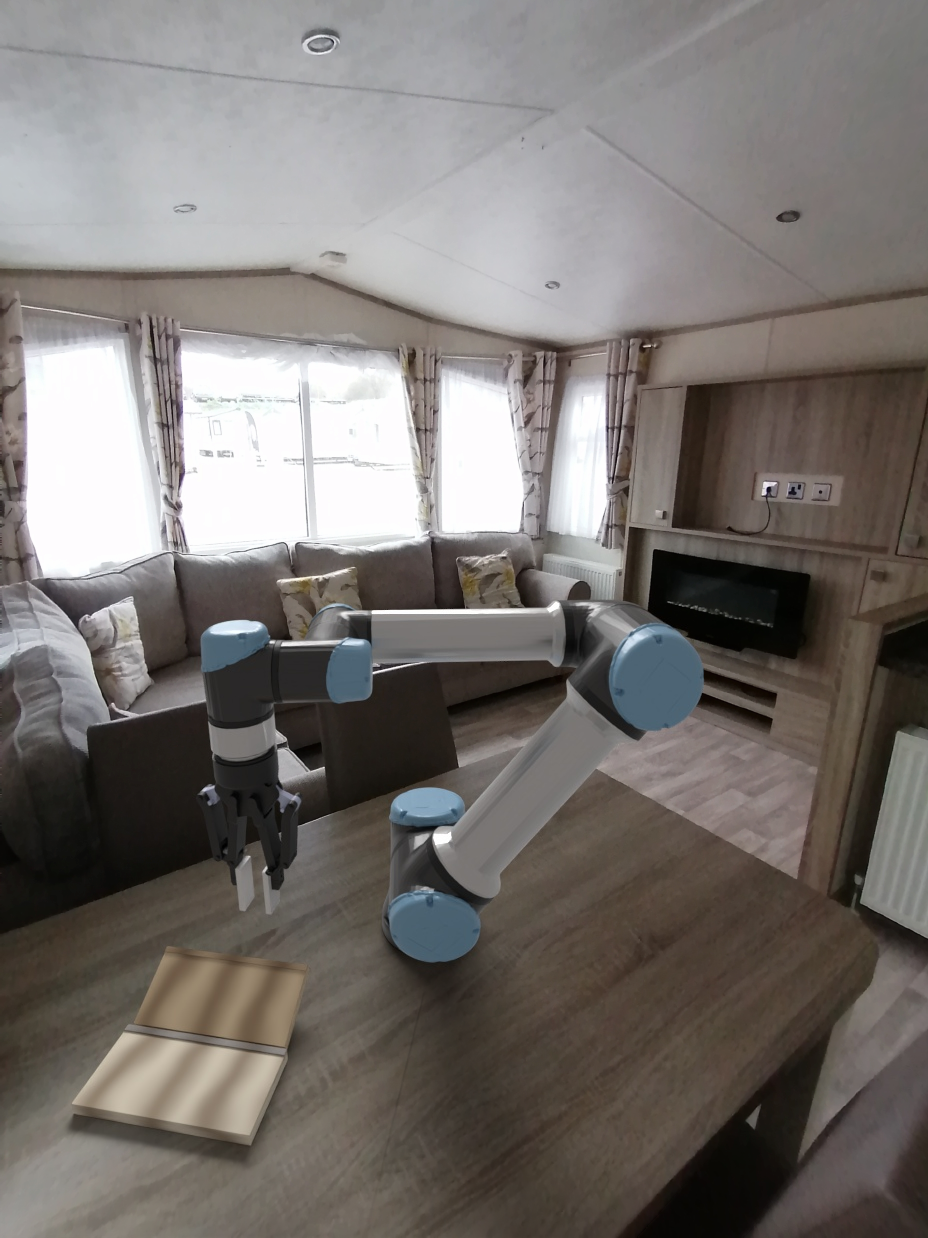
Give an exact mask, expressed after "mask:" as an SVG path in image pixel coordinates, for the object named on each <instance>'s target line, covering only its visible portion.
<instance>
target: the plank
mask: <svg viewBox="0 0 928 1238" xmlns="http://www.w3.org/2000/svg"><path fill="white" fill-rule="evenodd" d="M165 947H166V948H165V950H164V954H163V956H162V958H161V960H160V963H159V965H158V967H157V969H156V971H155V973H154V976H153V979H152V981H151V983H150V985H149V987H148V989H147V992H146V994H145V996H144V999H143V1001H142V1003H141V1006H140V1007H139V1010H138V1012H137V1014H136V1016H135V1019H134V1021H133V1025H137V1026H144V1027H150V1028H157V1029H163V1030H169V1031H176V1032H182V1033H189V1034H195V1035H201V1036H208V1037H214V1038H221V1039H227V1040H233V1041H240V1042H246V1043H252V1044H259V1045H265V1046H272V1047H278V1048H284V1049H287V1050H288V1049H289V1045H290V1042H291V1038H292V1035H293V1031H294V1028H295V1024H296V1020H297V1017H298V1013H299V1011H300V1010H299V1009H300V1006H301V1002H302V998H303V995H304V992H305V988H306V984H307V982H308V978H309V974H310V971H311V967H310V966H309V965H308V964H301V963H294V962H289V961H287V962H286V961H281V960H274V959H273V960H272V959H264V958H257V957H249V956H243V955H235V954H227V953H222V952H221V953H220V952H215V951H214V952H213V951H205V950H200V949H191V948H184V947H177V946H169V945H166V946H165Z"/></svg>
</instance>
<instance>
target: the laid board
mask: <svg viewBox="0 0 928 1238" xmlns="http://www.w3.org/2000/svg"><path fill="white" fill-rule="evenodd" d="M288 1060H289V1057H288V1049H284V1048H278V1047H272V1046H265V1045H259V1044H252V1043H246V1042H240V1041H233V1040H227V1039H221V1038H214V1037H208V1036H201V1035H195V1034H189V1033H182V1032H176V1031H169V1030H163V1029H157V1028H150V1027H144V1026H137V1025H136V1024H130V1023H128V1024H127V1025H126V1027H125V1028H124V1030H123V1032H122V1034H121V1035H120V1037H119V1038H118V1039H117V1040H116V1042H115V1043H114V1045H113V1046H112V1047H111V1049H110V1050H109V1051H108V1053H107V1055H106V1056H105V1057H104V1059H102V1061H101V1062H100V1064H99V1065H98V1067H97V1068H96V1070H95V1071H94V1072H93V1073H92V1074H91V1076H90V1078H89V1079H88V1080H87V1082H86V1083H85V1084H84V1086H83V1087H82V1088H81V1090H80V1091H79V1092H78V1094H77V1095H76V1097H75V1098H74V1099H73V1101H72V1102H71V1108H72V1112H73V1113H72V1114H74V1115H78V1116H84V1117H90V1118H95V1119H101V1120H106V1121H112V1122H117V1123H122V1124H129V1125H134V1126H139V1127H145V1128H151V1129H156V1130H160V1131H161V1130H162V1131H167V1132H172V1133H178V1134H183V1135H190V1136H195V1137H202V1138H205V1139H211V1140H217V1141H222V1142H227V1143H228V1142H229V1143H234V1144H239V1145H245V1146H252V1144H253V1141H254V1140H255V1137H256V1134H257V1132H258V1129H259V1127H260V1126H261V1122H262V1120H263V1117H265V1114H266V1111H267V1109H268V1107H269V1104H270V1102H271V1100H272V1098H273V1096H274V1092H275V1091H276V1088H277V1086H278V1084H279V1082H280V1079H281V1076H282V1074H283V1072H284V1069H285V1067H286V1065H287V1064H288Z"/></svg>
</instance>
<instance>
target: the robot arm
mask: <svg viewBox="0 0 928 1238" xmlns="http://www.w3.org/2000/svg"><path fill="white" fill-rule="evenodd" d="M309 622H310V623H309V624H308V627H307V632H306V634H305V636H304V637H303V639H293V640H292V639H291V640H289V639H288V640H285V639H271V635H269V631H268V627H267V626H266V625H265V624H264V623H263V622H260V621H258V620H257V621H256V620H255V621H254V620H253V621H252V620H248V619H235V620H228V621H223V622H218V623H216V624H213V625H211V626H209V627H208V628H206V630H204V631H203V633H202V634H201V636H200V656H201V657H200V658H201V665H200V671H201V675H202V680H203V681H202V682H203V687H204V688H203V690H204V695H205V696H204V697H205V702H206V708H207V709H206V710H207V720H208V721H207V723H208V733H209V740H210V749H211V751H212V755H211V756H212V757H211V758H212V767H213V775H214V780H215V784H211V783H209V784H207V785H206V786H205V787H204V788H203V789H202V790H201V791H200V792H198V793H197V795H196V796H195V800H196V802H197V803H198V805H199V807H200V808H201V810H202V812H203V817H204V822H205V825H206V830H207V835H208V840H209V844H210V849H211V853H212V857H213V860H214V861H215V862H218V863H220V862H221V861H223V862H225V863H226V865H227V866H228V867H229V875H230V882H231V884H232V886H236V889H237V898H238V908H239V911H241V912H246V911H247V909H248V908H249V906H250V905H251V903H252V901H253V900H254V899H255V897H256V895H255V885H254V877H253V866H252V857H251V855H245V854H246V852H247V851H248V848H246V836H247V822H248V821H247V819H248V817H249V818H251V819H252V822H253V825H254V827H256V829H257V832H258V837H259V841H260V844H261V848H262V852H263V856H264V861H265V864H266V866H265V867H264V869H263V870H262V871H261V875H262V876H261V877H262V885H263V894H264V895H263V898H264V906H265V914H266V915H272V914H273V912H274V911H275V909H276V908H277V906H278V904H279V903H280V901H281V891H280V889H281V887H282V886H283V885H284V882H285V870H288V869H289V868H290V867H291V865H292V864H293V862H294V860H295V859H296V857H297V855H298V836H299V835H298V834H299V833H298V832H299V808H300V806H301V804H302V801H303V800H304V795H303V794H302V793H301V792H296V793H294V794H292V793H290V792H288V791H286V790H284V786H283V783H282V782H281V780H280V777H279V774H280V773H279V772H280V771H279V770H280V768H279V767H280V766H279V753H278V745H277V743H276V742H277V741H276V740H277V733H276V732H277V731H276V718H275V706H274V705H275V704H296V703H297V704H307V703H309V704H310V703H311V704H312V703H315V704H316V703H317V704H318V703H336V704H344V703H347V702H357V701H365V700H367V699H368V698H370V697H371V695H372V693H373V679H374V678H373V677H374V676H373V672H374V671H373V669H374V667H373V666H374V665H373V664H398V663H399V664H406V663H408V664H409V663H413V664H415V663H449V662H450V663H453V662H454V663H456V662H458V663H459V662H461V663H464V662H465V663H466V662H500V661H501V662H504V661H505V662H507V661H509V662H510V661H511V662H512V661H513V662H515V661H548V662H549V663H550V664H552V666H553V667H556V668H563V667H565V668H566V667H568V668H569V667H570V668H575V670H574V671H573V672H572V673H571V674H570V676H568V678H567V679H566V698H565V699H564V700H563V701H562V702H561V704H560V705H559V706H558V707H557V708H556V709H555V710H554V711H553V713H552V714H551V715H550V716H549V718H548V719H547V720H545V722H544V723H543V724H542V725H541V726H540V728H539V729H538V730H537V731H536V732H535V733H534V734H533V735H532V736H531V738H530V739H528V741H527V743H525V744H524V745H523V747H521V749H520V750H519V752H518V753H517V754H516V755H515V756H514V757H513V758H512V759H511V760H510V762H509V763H508V764H507V765H506V766H505V767H504V768H503V769H502V771H501V772H500V773H499V774H498V775H497V776H496V778H495V779H494V780H493V781H492V782H491V783H490V785H489V786H488V787H487V788H485V790H484V791H483V792H482V793H481V794H480V796H479V797H478V798H477V799H476V800H475V801H474V802H473V804H472V805H471V806H470V807H469V808H468V809H467V810H466V805H465V802H464V799H462V797H461V796H460V795H458V794H457V793H455V792H453V791H451V790H448V789H445V788H439V787H419V788H413V789H410V790H407V791H405V792H402V793H401V794H399V795H398V796H396V797H395V798H394V799H393V801H392V803H391V806H390V814H389V816H388V818H389V821H390V866H389V868H390V869H389V888H388V891H387V893H386V897H385V900H384V902H383V906H382V910H381V925H382V927H381V928H382V931H383V934H384V936H385V938H386V940H387V941H388V942H389V943H390V945H392V946H393V947H394V948H395V949H397V950H399V951H401V952H402V953H404V954H406V955H407V956H409V957H411V958H413V959H415V960H418V961H422V962H425V963H437V962H441V963H442V962H443V963H445V962H451V961H454V960H456V959H458V958H460V957H462V956H464V955H466V954H467V953H468V952H470V951H471V950H472V948H474V947H475V945H476V944H477V942H478V940H479V938H480V933H481V927H482V923H481V918H480V914H481V913H482V912H483V911H484V910H485V908H486V907H487V906H488V905H489V904H490V903H491V902H492V901H493V900H494V899H495V898H496V896H498V895H499V893H500V891H501V885H502V883H501V875H500V874H502V872H503V871H504V870H505V869H506V867H508V866H509V864H510V863H511V862H512V861H513V860H514V859H515V858H516V857H517V856H518V854H519V853H520V852H521V851H522V850H523V849H524V848H525V847H526V846H527V845H528V844H529V843H530V841H531V840H532V839H533V838H534V837H535V836H536V835H537V834H538V833H539V832H540V831H541V829H542V828H544V826H545V825H546V824H547V823H548V822H549V821H550V820H551V819H552V817H553V816H555V814H556V813H557V812H558V811H559V810H560V808H562V806H564V804H565V803H567V801H568V800H569V799H570V798H571V797H572V796H573V795H574V793H575V792H576V791H577V790H578V789H579V788H580V787H581V786H582V785H583V784H584V782H585V781H586V780H587V779H588V778H589V777H590V776H591V775H592V773H593V772H594V771H595V770H597V768H598V767H600V765H601V764H602V763H603V761H605V759H607V757H609V755H610V754H611V753H612V752H613V751H614V750H615V748H617V746H618V745H621V744H634V743H635V744H636V743H638V742H639V741H640V740H641V739H642V738H643V737H644V736H645V735H646V734H647V732H648V731H649V732H658V731H662V729H669V730H670V729H671V728H673V727H675V726H677V725H679V724H680V723H682V722H683V721H684V720H686V719H687V718H688V717H689V716H690V715H691V714H692V712H693V711H694V710H695V708H696V706H697V705H698V703H699V701H700V699H701V696H702V693H703V691H704V690H703V689H704V686H705V685H704V684H705V679H704V665H703V662H702V659H701V657H700V655H699V653H698V652H697V650H696V648H695V647H694V645H692V644H691V643H690V642H689V641H688V640H687V639H686V638H685V637H684V636H683V635H682V634H681V632H680V631H678V630H677V629H675V628H673V627H672V626H671V625H669V624H667V623H666V622H663V620H661V619H660V618H658V617H656V616H655V615H653V614H652V613H651V612H649V611H648V610H647V609H645V608H644V607H642V606H641V605H639V604H636V603H634V602H629V601H625V600H617V599H577V600H576V599H571V600H569V599H568V600H565V599H564V600H552V601H551V603H549V604H548V605H547V606H546V607H515V608H514V607H513V608H511V607H508V608H505V607H504V608H498V607H497V608H453V609H452V608H451V609H450V608H447V609H446V608H445V609H444V608H443V609H441V608H440V609H436V608H435V609H388V610H387V609H386V610H385V609H384V610H379V609H378V610H377V609H376V610H369V609H368V610H367V609H366V610H365V609H362V610H361V609H358V610H357V609H355V608H353V606H350V605H349V604H345V603H339V602H338V603H332V604H331V603H330V604H328V605H326V606H324V607H323V608H321V609H320V610H319V611H318V612H317V613H316V614H315V615H314V616H313V617H312V619H311V621H309ZM277 801H278V802H279V803H280V805H279V808H280V809H279V811H280V812H281V813H282V814H281V821H280V834H279V829H278V825H277V821H276V816H275V812H276V808H275V803H276V802H277ZM223 803H224V804H225V806H226V808H227V815H225V814H226V813H225V809H224V805H223ZM226 816H227V817H226Z"/></svg>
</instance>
